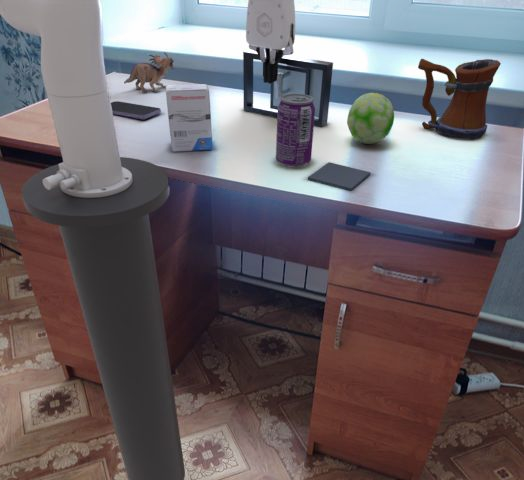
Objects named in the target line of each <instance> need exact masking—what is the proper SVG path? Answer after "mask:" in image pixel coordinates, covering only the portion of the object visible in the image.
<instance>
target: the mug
mask: <svg viewBox="0 0 524 480" xmlns="http://www.w3.org/2000/svg"><path fill="white" fill-rule="evenodd" d="M500 66H501V62H500V61H499V60H498V59H491V58H486V59H476V60H474V61H468V62H463V63H461V64H459V65H457V66H456V68H455V69H454V71H455V73H454V72H453V71H452V70H451V69H450V68H448V67H447V66H445V65H442V64H438V63H434V62H431V61H429V60H427V59H424V58H420V60H419V62H418V66H417V69H419V70H421V71H423V72H424V74H425V81H426V82H425V83H426V84H425V85H426V86H425V90H424V94H423V96H422V102H421V105H422V107H423V109H424V110H426V112H428V114H429V115H430V120H429V121H428V122H426V121H422V122H421V125H422V128H423V129H424V130H435V131H436V133H438V135H440V136H444V137H447V138H451V139H459V140H467V141H468V140H470V141H474V140H478V139H481V138H482V137H483V136H484V135H485V134H486V132H487V129H488V124H486V122H487V118H486V115H487V114H486V107H487V100H488V95H489V94H488V93H489V90H490V88H491V85H493V82H494V77H495V75H496V73H497V72H498V70H499V68H500ZM433 72H438V73H440V74H443V75H445V76H446V77H447V81H446V82H444V87H445V89H444V90H445V93H446V95H447V96H448V97H450V96H451V95H452V97H451V100H450V102H449V105H448V106H447V108H446V109H445V111H443V113H442V115H441V116H439V117H438V115H437V111H436V109H435V107H434V105H433V104H432V103H431V99H432V96H433V93H434V88H435V79H434V76H433Z"/></svg>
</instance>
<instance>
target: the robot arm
mask: <svg viewBox="0 0 524 480" xmlns="http://www.w3.org/2000/svg"><path fill="white" fill-rule="evenodd" d="M246 8H247V9H246V21H245V22H246V23H245V24H246V25H245V41H246V43H247V44H248V48H249V50H253V51H255V52H257V53H258V55H259V56H260V58H261V60H260V62H261V63H262V77H263V83H265V84H271V83H273V82H275V81H276V80H277V73H278V64H279V63H278V62H279V61H280V60H281V58H282V57H283V56H287V55H288V56H292V55H293V54H294V44H295V40H296V7H295V0H248V1H247V7H246ZM0 16H1V17H2V19H3V20H4V21H5V22H6V23H7V24H8V25H9V26H10V27H12V28H14V29H15V30H17V31H19V32H22V33H24V34H28V35H32V36H36V37H40V41H41V42H40V43H41V44H40V45H41V46H40V70H41V77H42V82H43V86H44V90H45V94H46V97H47V101H48V106H49V109H50V114H51V118H52V121H53V127H54V130H55V134H56V138H57V142H58V146H59V151H60V155H61V158H62V162H60V163H57V164H58V165H59V169H60V170H59V171H57V173H56V174H55V175H51V176H49V177H47V178H44V179H43V181H42V182H43V185H44V187H45V188H46V189H47V190H51V189H53V188H56V187H58V186H59V185H60V188H61V190H62V191H63V192H64V193H66V194H68V195H71V196H74V197H80V198H99V197H106V196H111V195H114V194H117V193H120V192H122V191H124V190H126V189H127V188H128V187H129V186H130V185H131V184H132V182H133V179H132V174H131V172H130V171H129V170H127V169H126V168H124V167H122V166H121V160H120V157H121V155H120V148H119V144H118V137H117V132H116V131H117V130H116V125H115V119H114V114H113V113H112V107H111V97H110V90H109V85H108V78H107V71H106V66H105V58H104V46H103V45H104V44H103V9H102V2H101V0H0Z"/></svg>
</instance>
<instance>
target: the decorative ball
mask: <svg viewBox="0 0 524 480" xmlns="http://www.w3.org/2000/svg"><path fill="white" fill-rule="evenodd" d="M394 122H395V111H394V107H393V104H392V102H391V101H390V99H389V98H387V97H386V96H385V95H384V94H381V93H379V92H378V93H377V92H369V93H363V94H362V95H360V96H359V97H357V98H356V99H355V101H354V102H353V103H352V105H351V106H350V108H349V111H348V114H347V119H346V124H347V128H348V130H349V132H350V135H351V137H352V138H353V139H354V140H356V141H357V142H359V143H362V144H364V145H372V144H373V145H374V144H377V143H379V142H381V141H382V140H383V139H384V138H386V137H387V136H389V134H390V132H391V131H392V128H393V126H394Z"/></svg>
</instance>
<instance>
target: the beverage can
mask: <svg viewBox="0 0 524 480" xmlns="http://www.w3.org/2000/svg"><path fill="white" fill-rule="evenodd" d="M280 100H281V102H280V104H279V106H278V113H277V118H276V121H277V122H276V142H275V143H276V145H275V159H276V161H277V162H279V163H280V164H282V165H284V166H286V167H290V168H291V167H292V168H296V167H302V166H304V165H307V164H309V163H310V162H311V161H312V153H313V152H312V151H313V142H314V141H313V140H314V127H315V126H314V117H315V107H314V104H313V97H311V96H309V95H305V94H286V95H283V96H281V99H280Z"/></svg>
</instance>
